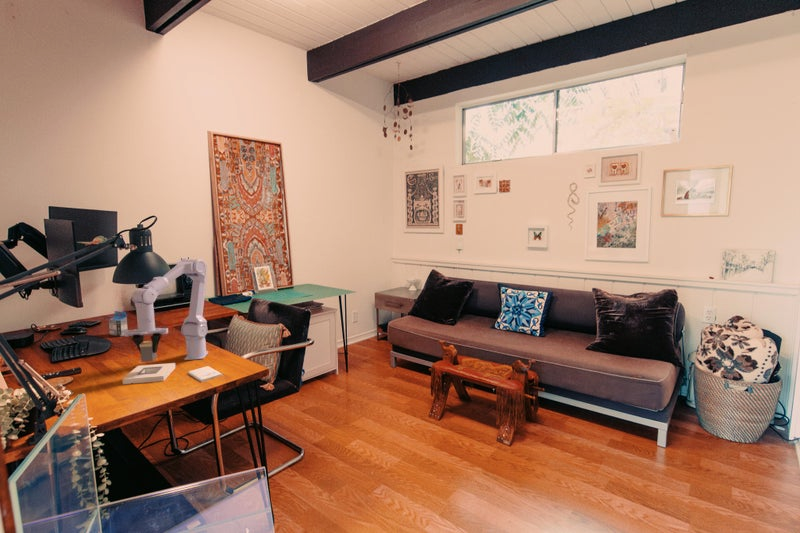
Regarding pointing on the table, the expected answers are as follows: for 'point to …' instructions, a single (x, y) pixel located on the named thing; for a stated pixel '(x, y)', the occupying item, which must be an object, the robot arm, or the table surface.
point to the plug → (147, 351)
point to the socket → (149, 373)
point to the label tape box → (118, 324)
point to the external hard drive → (204, 373)
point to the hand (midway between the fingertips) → (148, 352)
